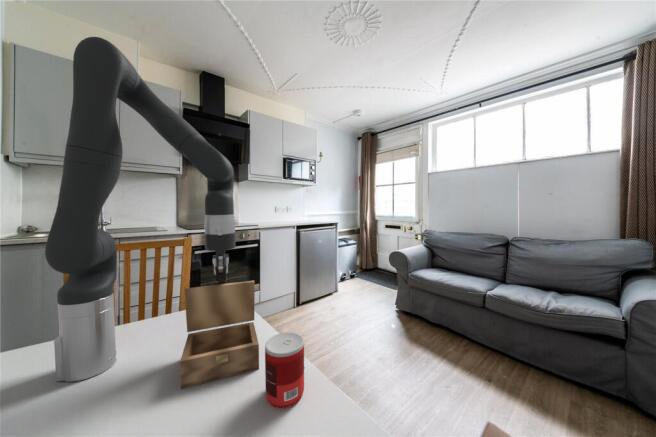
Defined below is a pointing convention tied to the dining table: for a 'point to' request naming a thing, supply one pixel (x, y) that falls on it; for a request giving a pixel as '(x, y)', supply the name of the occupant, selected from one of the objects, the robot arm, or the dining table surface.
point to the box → (219, 354)
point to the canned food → (284, 369)
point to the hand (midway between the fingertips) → (221, 294)
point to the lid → (219, 305)
